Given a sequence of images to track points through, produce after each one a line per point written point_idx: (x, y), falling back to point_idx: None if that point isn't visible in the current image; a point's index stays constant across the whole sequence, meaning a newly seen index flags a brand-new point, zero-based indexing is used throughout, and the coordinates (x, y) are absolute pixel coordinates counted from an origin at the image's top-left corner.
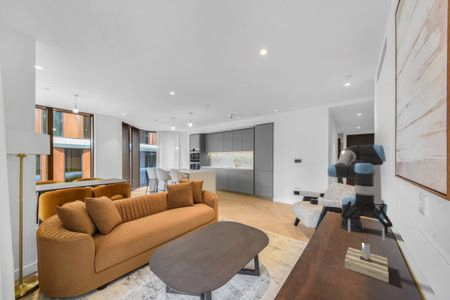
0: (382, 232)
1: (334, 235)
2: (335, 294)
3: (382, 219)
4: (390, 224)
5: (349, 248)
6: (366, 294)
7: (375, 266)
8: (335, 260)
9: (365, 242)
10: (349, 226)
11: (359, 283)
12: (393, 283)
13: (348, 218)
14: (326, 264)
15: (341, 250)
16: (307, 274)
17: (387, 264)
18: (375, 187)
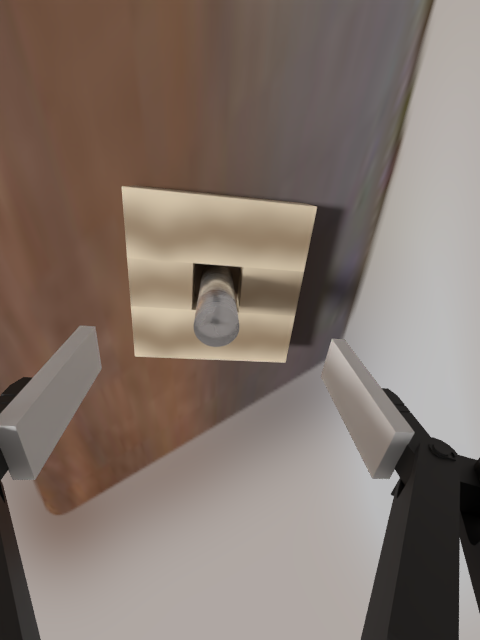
0: (346, 426)
1: None
2: (147, 462)
3: (452, 531)
4: (475, 524)
5: (129, 202)
6: (213, 423)
7: (249, 334)
8: (96, 295)
9: (216, 308)
10: (74, 411)
11: (196, 391)
12: (293, 329)
13: (6, 501)
14: None
15: (87, 144)
16: None
17: (301, 282)
18: None
